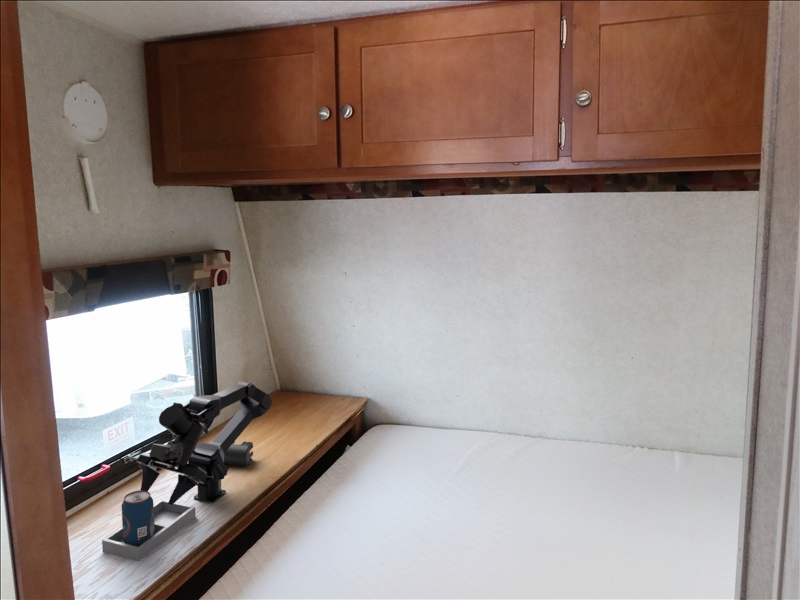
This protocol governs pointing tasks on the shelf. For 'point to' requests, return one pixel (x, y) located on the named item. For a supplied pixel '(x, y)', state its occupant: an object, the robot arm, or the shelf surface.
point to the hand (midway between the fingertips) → (155, 500)
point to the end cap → (239, 454)
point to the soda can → (137, 518)
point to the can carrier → (165, 526)
